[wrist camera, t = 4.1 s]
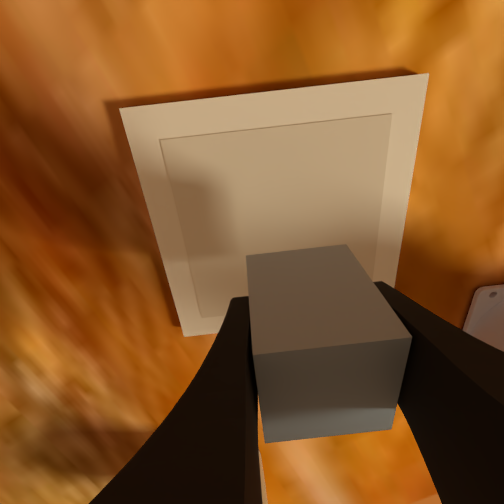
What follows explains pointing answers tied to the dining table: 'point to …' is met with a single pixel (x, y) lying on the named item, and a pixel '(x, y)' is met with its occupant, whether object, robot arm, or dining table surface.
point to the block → (322, 345)
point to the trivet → (275, 181)
